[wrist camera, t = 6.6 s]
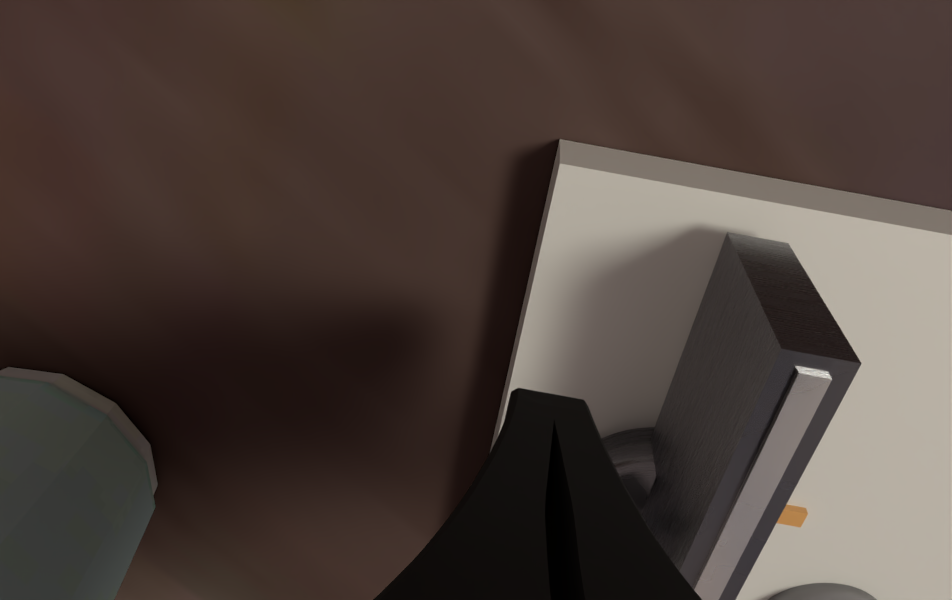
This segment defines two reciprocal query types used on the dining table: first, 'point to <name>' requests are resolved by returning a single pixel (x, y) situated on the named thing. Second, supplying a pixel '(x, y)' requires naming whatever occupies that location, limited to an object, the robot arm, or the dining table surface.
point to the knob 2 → (737, 415)
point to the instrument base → (673, 313)
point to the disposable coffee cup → (68, 489)
